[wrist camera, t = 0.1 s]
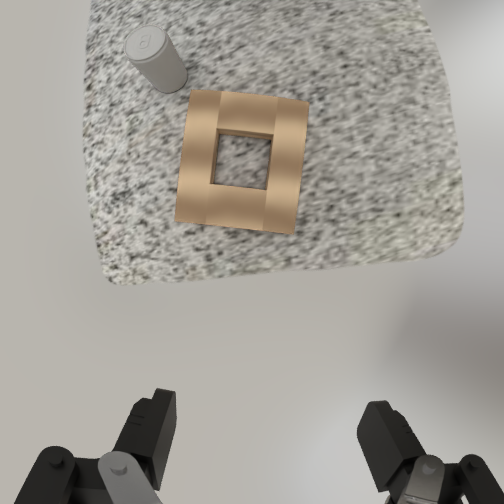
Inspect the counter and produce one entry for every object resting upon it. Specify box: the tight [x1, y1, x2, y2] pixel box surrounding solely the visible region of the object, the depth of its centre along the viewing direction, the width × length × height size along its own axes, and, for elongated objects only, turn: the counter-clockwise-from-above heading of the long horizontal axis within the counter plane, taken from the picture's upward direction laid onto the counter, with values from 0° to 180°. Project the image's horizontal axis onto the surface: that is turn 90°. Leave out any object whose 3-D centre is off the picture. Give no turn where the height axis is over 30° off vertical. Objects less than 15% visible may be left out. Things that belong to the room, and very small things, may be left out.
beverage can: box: [123, 24, 188, 93], centre depth 28 cm, size 5×5×12 cm
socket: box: [175, 90, 309, 235], centre depth 35 cm, size 16×14×4 cm
